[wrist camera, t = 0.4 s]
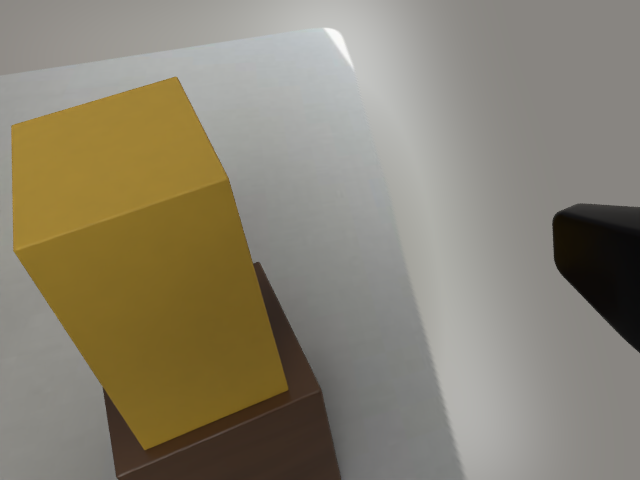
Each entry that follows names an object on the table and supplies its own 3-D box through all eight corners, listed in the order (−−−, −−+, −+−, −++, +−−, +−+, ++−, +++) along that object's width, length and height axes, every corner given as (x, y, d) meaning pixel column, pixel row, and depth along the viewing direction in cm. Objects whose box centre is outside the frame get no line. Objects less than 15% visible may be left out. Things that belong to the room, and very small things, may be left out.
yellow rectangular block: (239, 276, 24) (176, 75, 18) (289, 390, 20) (228, 177, 14) (118, 321, 24) (10, 124, 17) (144, 451, 19) (12, 250, 13)
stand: (343, 485, 25) (322, 390, 20) (179, 560, 23) (115, 478, 19) (286, 360, 30) (259, 260, 25) (148, 416, 28) (92, 322, 24)
